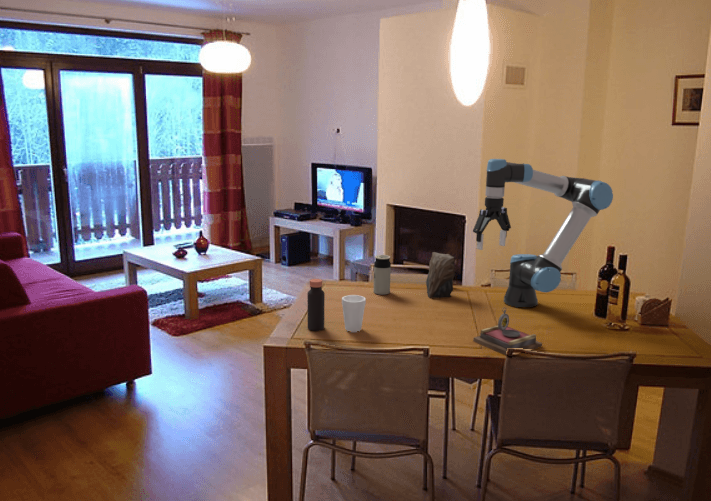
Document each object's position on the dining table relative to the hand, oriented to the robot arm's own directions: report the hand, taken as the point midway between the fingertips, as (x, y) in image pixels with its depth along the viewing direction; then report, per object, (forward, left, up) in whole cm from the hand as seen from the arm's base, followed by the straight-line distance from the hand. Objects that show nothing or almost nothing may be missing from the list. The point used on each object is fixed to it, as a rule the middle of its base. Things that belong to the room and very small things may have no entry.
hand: (490, 247), depth 250 cm
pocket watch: (+16, +26, -27) cm, 41 cm away
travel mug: (+17, -52, -31) cm, 63 cm away
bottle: (+69, -27, -31) cm, 80 cm away
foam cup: (+57, -18, -31) cm, 67 cm away
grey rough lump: (-3, -35, -31) cm, 47 cm away
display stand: (+16, +26, -31) cm, 43 cm away
